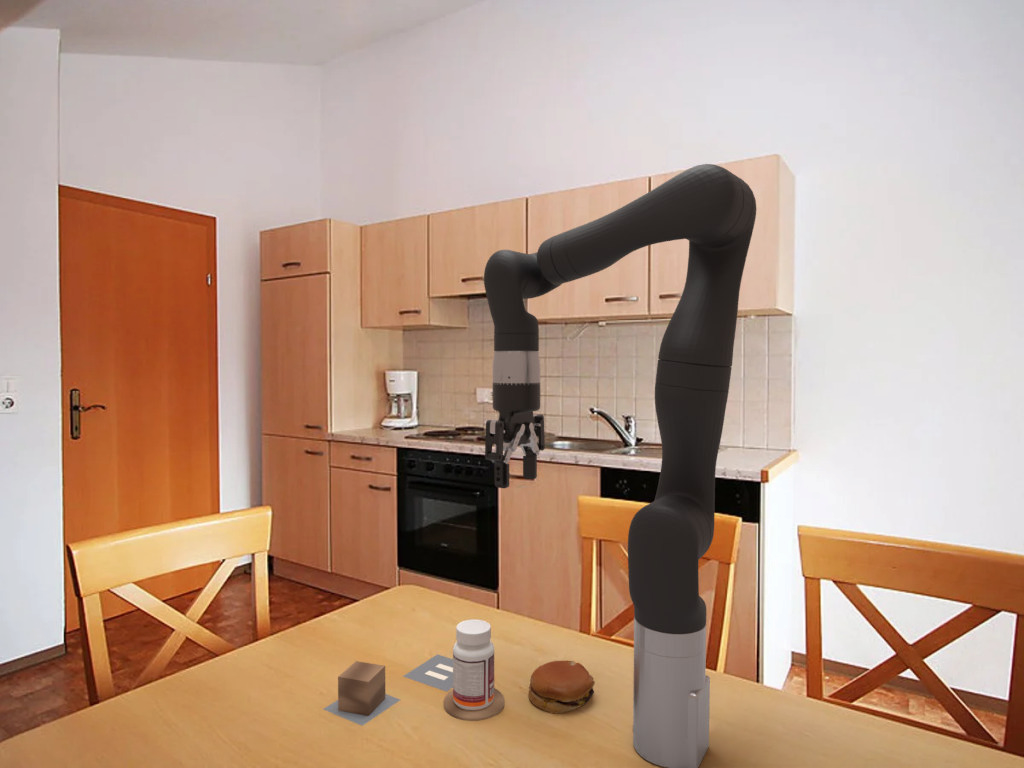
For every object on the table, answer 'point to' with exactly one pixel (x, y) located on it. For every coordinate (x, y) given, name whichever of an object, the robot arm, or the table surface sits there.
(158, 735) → the table surface
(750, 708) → the table surface
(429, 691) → the table surface
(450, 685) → the code tile
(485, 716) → the coaster
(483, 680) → the pill bottle
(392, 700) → the code tile
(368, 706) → the walnut block
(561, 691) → the burger
